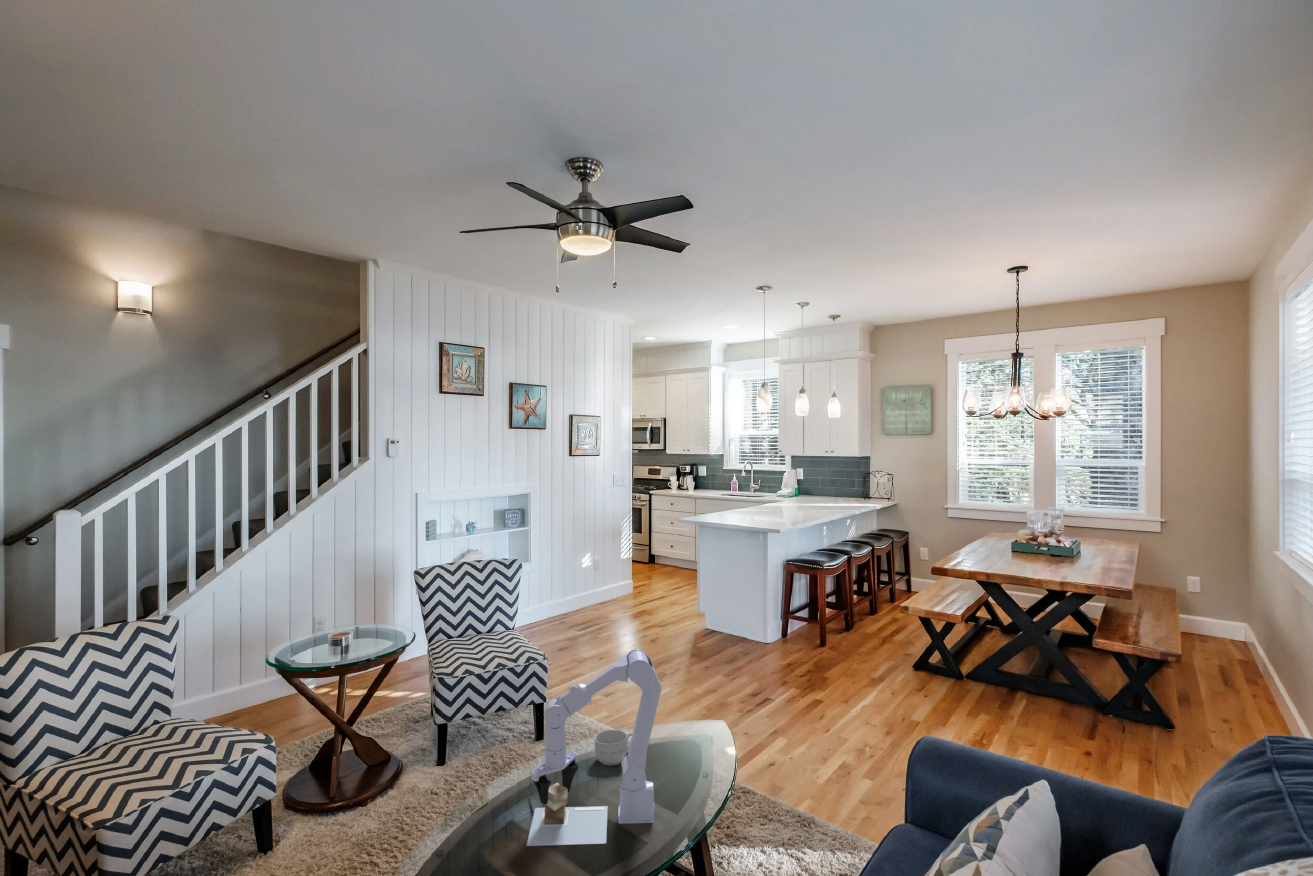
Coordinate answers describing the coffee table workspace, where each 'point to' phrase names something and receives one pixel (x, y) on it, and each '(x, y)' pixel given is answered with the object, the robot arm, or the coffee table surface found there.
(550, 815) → the walnut base
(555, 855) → the coffee table surface
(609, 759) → the teacup
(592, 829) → the board
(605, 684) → the robot arm
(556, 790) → the maple block
